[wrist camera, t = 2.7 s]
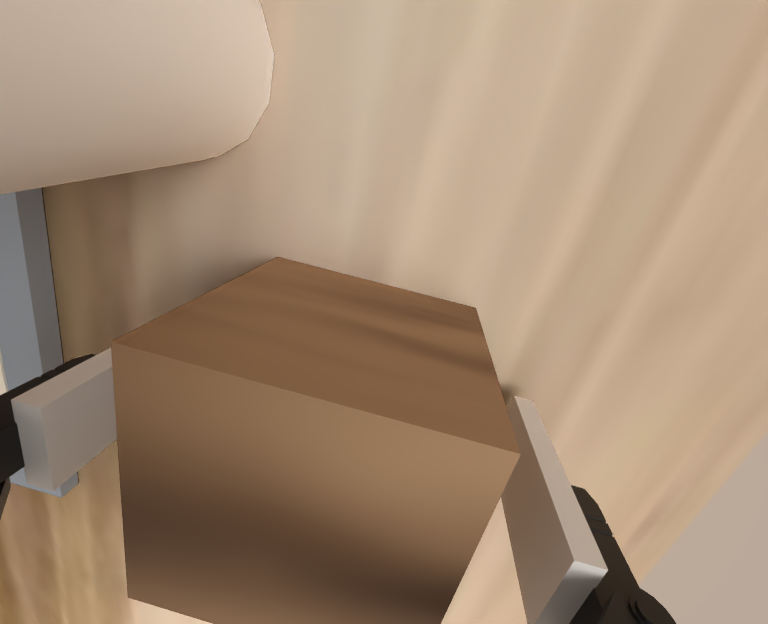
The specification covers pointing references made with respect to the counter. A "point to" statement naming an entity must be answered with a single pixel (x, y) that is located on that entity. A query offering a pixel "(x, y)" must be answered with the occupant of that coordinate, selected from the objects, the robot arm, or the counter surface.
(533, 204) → the counter surface
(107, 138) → the foam cup
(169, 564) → the walnut cube
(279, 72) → the counter surface
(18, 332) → the blue flat board
